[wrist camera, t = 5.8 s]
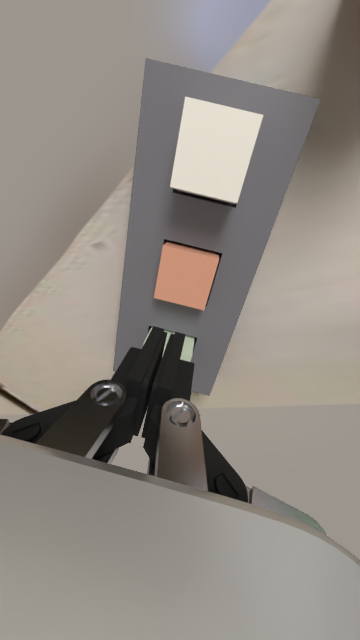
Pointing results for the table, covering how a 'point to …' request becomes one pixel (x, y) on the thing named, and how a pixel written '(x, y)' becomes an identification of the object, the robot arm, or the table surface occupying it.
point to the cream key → (214, 150)
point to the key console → (203, 210)
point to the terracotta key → (185, 274)
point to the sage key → (187, 346)
